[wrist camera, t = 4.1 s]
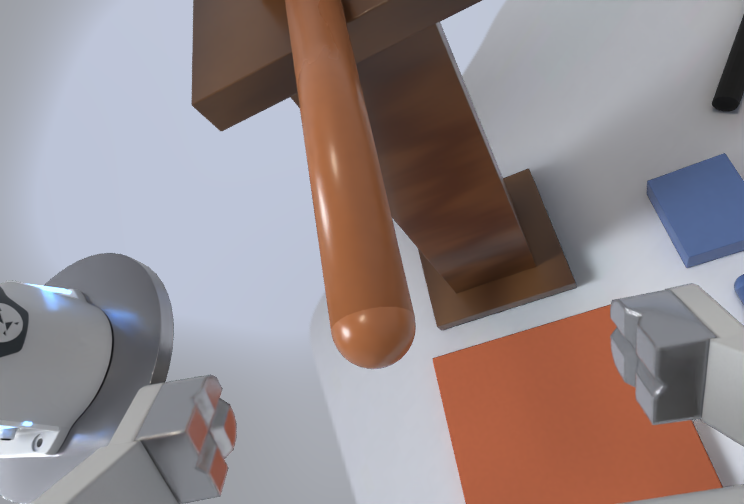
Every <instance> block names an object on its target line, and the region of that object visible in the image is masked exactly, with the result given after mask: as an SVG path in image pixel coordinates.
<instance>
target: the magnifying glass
mask: <svg viewBox="0 0 744 504" xmlns="http://www.w3.org/2000/svg"><path fill="white" fill-rule="evenodd" d="M743 92H744V16H743V18H742V21H741V24H740V27H739V29H738V32H737V35H736V38H735V41H734V43H733V46H732V49H731V52H730V54H729V57H728V60H727V63H726V65H725V68H724V71H723V74H722V76H721V79H720V82H719V85H718V87H717V90H716V93H715V96H714V98H713V101H712V106H713V107H714V108H716V109H718V110H721V111H732V110H735V109H736V108H737V107H738V106H739V104H740V101H741V98H742V95H743Z"/></svg>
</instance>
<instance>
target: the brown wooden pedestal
mask: <svg viewBox="0 0 744 504" xmlns="http://www.w3.org/2000/svg"><path fill="white" fill-rule="evenodd" d="M480 1H482V0H342V5H343V9H344V13H345V18H346V22H347V26H348V31H349V35H350V39H351V44H352V48H353V52H354V57H355V61H356V65H357V70H358V74H359V78H360V83H361V87H362V91H363V95H364V100H365V104H366V108H367V113H368V117H369V121H370V126H371V130H372V134H373V139H374V143H375V147H376V152H377V156H378V160H379V165H380V169H381V173H382V178H383V182H384V186H385V191H386V195H387V199H388V204H389V208H390V212H391V217H392V218H393V219H394V220H395V222H396V223H397V224H398V225H399V226H400V227H401V229H402V230H403V231H404V232H405V233H406V235H407V236H408V237H409V238H410V239H411V240H412V242H413V243H414V244H415V245H416V246H417V248H418V250H419V255H420V259H421V263H422V267H423V271H424V275H425V279H426V283H427V287H428V291H429V296H430V300H431V304H432V308H433V312H434V316H435V320H436V324H437V327H438V328H439V329H440V330H444V329H447V328H450V327H454V326H457V325H460V324H463V323H466V322H469V321H472V320H476V319H479V318H482V317H485V316H488V315H491V314H494V313H498V312H501V311H504V310H507V309H510V308H513V307H517V306H520V305H523V304H526V303H529V302H532V301H535V300H539V299H542V298H545V297H548V296H551V295H554V294H557V293H561V292H564V291H567V290H570V289H573V288H576V287H577V286H576V283H575V280H574V278H573V275H572V273H571V270H570V268H569V265H568V263H567V260H566V258H565V256H564V253H563V251H562V248H561V246H560V243H559V241H558V238H557V236H556V234H555V231H554V229H553V226H552V224H551V221H550V219H549V216H548V214H547V211H546V209H545V207H544V204H543V202H542V199H541V197H540V194H539V192H538V189H537V187H536V184H535V182H534V180H533V177H532V175H531V172H530V170H529V169H526V170H523V171H521V172H518V173H516V174H513V175H511V176H508V177H506V178H503V177H502V174H501V172H500V169H499V167H498V165H497V162H496V160H495V157H494V155H493V152H492V150H491V147H490V145H489V142H488V140H487V137H486V135H485V132H484V130H483V127H482V125H481V122H480V120H479V118H478V115H477V113H476V110H475V108H474V105H473V103H472V100H471V98H470V95H469V93H468V90H467V88H466V85H465V83H464V80H463V78H462V75H461V73H460V71H459V68H458V66H457V63H456V61H455V58H454V56H453V53H452V51H451V48H450V46H449V43H448V41H447V38H446V36H445V33H444V31H443V28H442V26H441V24H440V21H442V20H444V19H446V18H448V17H450V16H452V15H454V14H456V13H458V12H460V11H462V10H464V9H466V8H468V7H470V6H472V5H474V4H476V3H478V2H480ZM289 97H291V98H292V100H294V102H295V103H296V104H297V105H298V107H299V108H300V105H299V98H298V91H297V84H296V77H295V70H294V62H293V55H292V48H291V41H290V34H289V27H288V19H287V12H286V5H285V0H194V1H193V56H192V106H193V107H194V108H195V109H197V110H198V111H199V112H200V113H201V114H202V115H203V116H204V117H206V119H208V120H209V121H210V122H211V123H212V124H213V125H215V127H216V128H218V129H219V130H220V131H224V130H225V129H227V128H229V127H231V126H233V125H235V124H237V123H239V122H241V121H243V120H245V119H247V118H249V117H251V116H253V115H255V114H257V113H259V112H261V111H263V110H265V109H267V108H269V107H271V106H273V105H275V104H277V103H279V102H281V101H283V100H285V99H287V98H289Z"/></svg>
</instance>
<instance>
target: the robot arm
mask: <svg viewBox="0 0 744 504" xmlns="http://www.w3.org/2000/svg"><path fill="white" fill-rule="evenodd" d="M57 292H58V293H57ZM61 293H62V294H61ZM610 318H611V319H612V321H613V322H614V324H615V325H616V326H617V327H616V329H615V330H614V331H613V333H612V334H611V335H610V341H611V352H612V356H613V360H614V364H615V366H616V368H617V370H618V372H619V374H620V376H621V377H622V379H623V381H624V382H625V383H627V384H629V385H631V386H633V387H635V388H636V390H635V399H636V401H637V402H638V404H639V405H640V407H641V408H642V410H643V411H644V413H645V414H646V416H647V417H648V419H649V420H650V422H651V423H652V425H659V424H666V423H673V422H680V421H688V420H695V419H702V421H703V422H704V423H706V424H708V425H709V426H711V427H712V428H714V429H716V430H717V431H719V432H721V433H722V434H724V435H726V436H727V437H729V438H730V439H732V440H734V441H735V442H737V443H739V444H740V445H742V446H744V326H743V325H742V324H741V323H740V322H739V321H738V320H737V319H735V318H734V317H733V316H732V315H731V314H730V313H729V312H728V311H727V310H725V309H724V308H723V307H722V306H721V305H720V304H719V303H718V302H716V301H715V300H714V299H713V298H712V297H711V296H710V295H709V294H708V293H706V292H705V291H704V290H703V289H702V288H701V287H700V286H698V285H696V284H693V283H691V284H686V285H682V286H677V287H672V288H667V289H665V290H662V291H657V292H652V293H646V294H641V295H636V296H631V297H625V298H620V299H615V300H612V302H611V306H610ZM111 350H112V331H111V326H110V323H109V320H108V318H107V316H106V315H105V313H104V312H103V311H102V310H101V309H99V308H98V307H96V306H93V305H91V304H89V303H88V302H87V301H86V299H85V297H84V295H83V294H82V292H81V291H79V290H75V289H68V290H66V289H64V288H56V287H48V286H39V285H32V284H24V283H21V282H17V281H6V282H5V283H1V284H0V458H10V457H43V456H53V455H54V454H56V453H57V452H58V450H59V449H60V447H61V446H62V444H63V442H64V440H65V438H66V437H67V435H68V433H69V430H70V428H71V427H72V425H73V424H74V423H75V421H76V420H77V419H78V418H79V417H80V416H81V414H82V413H83V412H84V411H85V410H86V408H87V407H88V406H89V404H90V403H91V402H92V400H93V399H94V397H95V395H96V394H97V392H98V390H99V388H100V386H101V384H102V382H103V379H104V377H105V374H106V372H107V369H108V365H109V361H110V357H111ZM221 392H222V387H221V385H220V383H219V381H218V379H217V377H215V376H213V375H206V376H200V377H194V378H187V379H181V380H175V381H169V382H166V383H158V384H153V385H147V386H144V387H142V388H141V389H139V390H138V392H137V394H136V396H135V398H134V399H133V401H132V403H131V405H130V407H129V408H128V410H127V412H126V414H125V416H124V417H123V419H122V421H121V423H120V425H119V426H118V428H117V430H116V432H115V433H114V435H113V437H112V439H111V441H110V442H109V444H108V446H105V447H100V448H99V449H98V450H96V451H95V452H94V453H93V454H92V455H90V456H89V457H88V458H87V459H85V460H84V461H83V462H82V463H80V464H79V465H78V466H77V467H75V468H74V469H73V470H72V471H71V472H69V473H68V474H67V475H66V476H64V477H63V478H62V479H61V480H59V481H58V482H57V483H56V484H55V485H53V486H52V487H51V488H50V489H48V490H47V491H46V492H45V493H43V494H42V495H41V496H40V497H39V498H37V499H36V500H35V501H34V502H32V503H31V504H183V503H189V502H194V501H199V500H204V499H210V498H215V497H220V496H221V492H222V489H223V485H224V482H225V478H226V475H227V471H228V466H227V464H226V462H225V460H224V459H225V458H226V457H227V456H228V455H229V454H230V453H231V452H232V451H233V450H234V446H235V442H236V420H235V416H234V412H233V410H232V408H231V406H230V404H228V403H227V402H225V401H224V400H222V399H220V395H221ZM618 504H744V484H742V485H736V486H729V487H723V488H716V489H710V490H703V491H697V492H690V493H684V494H677V495H671V496H664V497H658V498H651V499H645V500H638V501H632V502H625V503H618Z"/></svg>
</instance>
